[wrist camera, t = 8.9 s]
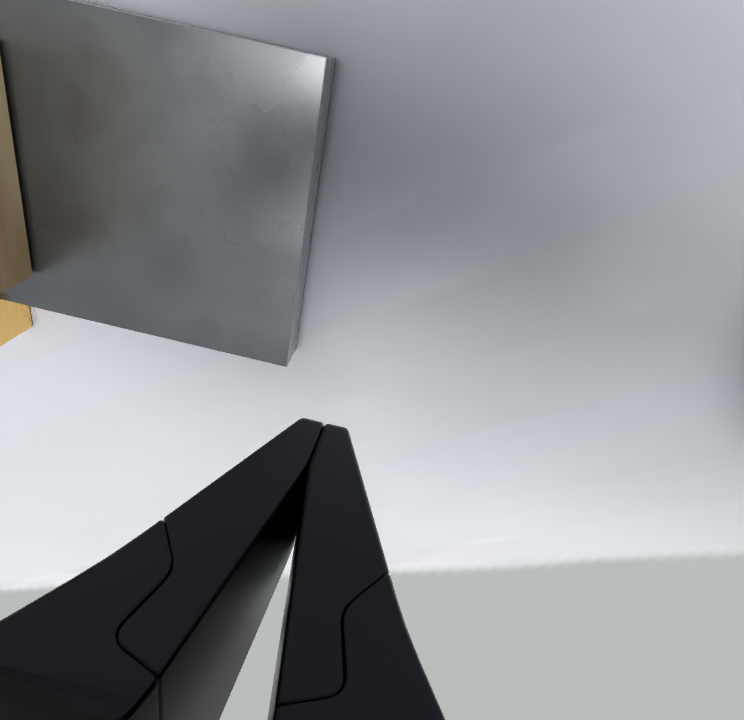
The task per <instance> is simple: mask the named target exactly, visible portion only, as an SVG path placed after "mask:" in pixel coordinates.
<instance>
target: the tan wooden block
mask: <svg viewBox="0 0 744 720" xmlns="http://www.w3.org/2000/svg"><path fill="white" fill-rule="evenodd" d="M32 276H33V275H32V268H31V262H30V255H29V248H28V241H27V234H26V228H25V221H24V214H23V207H22V200H21V193H20V187H19V180H18V173H17V166H16V159H15V152H14V146H13V139H12V132H11V125H10V118H9V112H8V105H7V98H6V91H5V84H4V77H3V71H2V64H1V57H0V293H1V292H3V291H5V290H7V289H9V288H11V287H13V286H15V285H17V284H19V283H21V282H23V281H24V280H26V279H28V278H30V277H32Z"/></svg>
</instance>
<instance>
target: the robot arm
mask: <svg viewBox="0 0 744 720" xmlns="http://www.w3.org/2000/svg"><path fill="white" fill-rule="evenodd" d="M295 539H296V540H295ZM294 542H295V546H294ZM293 546H294V551H293V557H292V564H291V570H290V577H289V584H288V590H287V596H286V603H285V609H284V616H283V622H282V629H281V636H280V643H279V648H278V655H277V662H276V668H275V674H274V681H273V687H272V694H271V700H270V707H269V714H268V720H445V718H444V716H443V713H442V711H441V709H440V706H439V704H438V702H437V700H436V698H435V695H434V693H433V691H432V688H431V686H430V683H429V681H428V679H427V676H426V674H425V672H424V670H423V667H422V665H421V663H420V660H419V658H418V655H417V653H416V650H415V648H414V645H413V643H412V640H411V638H410V635H409V633H408V630H407V628H406V625H405V622H404V619H403V616H402V613H401V610H400V607H399V603H398V601H397V597H396V594H395V590H394V587H393V583H392V580H391V577H390V575H388V574H389V570H388V567H387V563H386V560H385V557H384V553H383V550H382V546H381V543H380V539H379V536H378V532H377V529H376V525H375V522H374V518H373V515H372V511H371V508H370V504H369V501H368V497H367V494H366V490H365V487H364V483H363V480H362V476H361V473H360V470H359V466H358V463H357V459H356V456H355V452H354V449H353V445H352V442H351V438H350V435H349V432H348V430H347V429H346V428H344V427H340V426H335V425H331V424H326V425H325V426H324V425H323V423H322V422H318V421H314V420H310V419H306V418H302V419H300V420H298V421H297V422H295V423H294V424H293V425H291V426H290V427H288V428H287V429H286V430H284V431H283V432H282V433H280V434H279V435H277V436H276V437H275V438H273V439H272V440H271V441H269V442H268V443H266V444H265V445H264V446H262V447H261V448H260V449H258V450H257V451H255V452H254V453H253V454H251V455H250V456H248V457H247V458H246V459H244V460H243V461H242V462H240V463H239V464H237V465H236V466H235V467H233V468H232V469H231V470H229V471H228V472H226V473H225V474H224V475H222V476H221V477H220V478H218V479H217V480H215V481H214V482H213V483H211V484H210V485H209V486H207V487H206V488H204V489H203V490H202V491H200V492H199V493H198V494H196V495H195V496H193V497H192V498H191V499H189V500H188V501H187V502H185V503H184V504H182V505H181V506H180V507H178V508H177V509H176V510H174V511H173V512H171V513H170V514H169V515H167V516H166V517H165V518H164V521H162V520H161V521H159V522H157V523H156V524H155V525H153V526H152V527H150V528H149V529H148V530H146V531H145V532H143V533H142V534H141V535H139V536H138V537H136V538H135V539H133V540H132V541H130V542H129V543H128V544H126V545H125V546H123V547H122V548H120V549H119V550H117V551H116V552H114V553H113V554H111V555H110V556H108V557H107V558H105V559H103V560H102V561H100V562H99V563H97V564H95V565H94V566H92V567H90V568H89V569H87V570H86V571H84V572H82V573H81V574H79V575H77V576H76V577H74V578H72V579H71V580H69V581H67V582H66V583H64V584H62V585H61V586H59V587H57V588H55V589H54V590H52V591H50V592H49V593H47V594H45V595H43V596H42V597H40V598H38V599H37V600H35V601H33V602H31V603H30V604H28V605H26V606H25V607H23V608H21V609H20V610H18V611H16V612H14V613H13V614H11V615H9V616H8V617H6V618H4V619H2V620H1V621H0V720H219V719H220V716H221V714H222V712H223V710H224V707H225V705H226V702H227V700H228V698H229V696H230V693H231V691H232V689H233V686H234V684H235V681H236V679H237V677H238V675H239V672H240V670H241V668H242V665H243V663H244V660H245V658H246V656H247V654H248V651H249V649H250V647H251V644H252V642H253V640H254V637H255V635H256V633H257V630H258V628H259V626H260V623H261V621H262V619H263V616H264V614H265V612H266V609H267V607H268V605H269V602H270V600H271V598H272V595H273V593H274V591H275V588H276V586H277V584H278V581H279V579H280V577H281V574H282V572H283V570H284V568H285V565H286V563H287V561H288V558H289V556H290V553H291V551H292V548H293Z"/></svg>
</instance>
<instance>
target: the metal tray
mask: <svg viewBox="0 0 744 720" xmlns="http://www.w3.org/2000/svg"><path fill="white" fill-rule="evenodd" d="M0 57H1V64H2V71H3V77H4V84H5V91H6V98H7V105H8V112H9V118H10V125H11V132H12V139H13V146H14V152H15V159H16V166H17V173H18V180H19V187H20V193H21V200H22V207H23V214H24V221H25V228H26V234H27V241H28V248H29V255H30V262H31V268H32V275H33V276H32V277H30V278H28V279H26V280H24V281H23V282H21V283H19V284H17V285H15V286H13V287H11V288H9V289H7V290H5V291H3V292H1V293H0V346H1V345H3V344H5V343H6V342H8V341H9V340H11V339H13V338H14V337H16V336H17V335H19V334H21V333H22V332H24V331H25V330H27V329H28V328H30V327H32V321H31V314H30V308H29V306H32V307H36V308H41V309H45V310H49V311H53V312H57V313H62V314H66V315H70V316H74V317H79V318H83V319H87V320H91V321H95V322H100V323H104V324H108V325H112V326H117V327H121V328H125V329H129V330H134V331H138V332H142V333H146V334H150V335H155V336H159V337H163V338H167V339H172V340H176V341H180V342H184V343H188V344H193V345H197V346H201V347H205V348H210V349H214V350H218V351H222V352H226V353H231V354H235V355H239V356H243V357H248V358H252V359H256V360H260V361H264V362H269V363H273V364H277V365H281V366H287V365H288V363H289V361H290V359H291V357H292V355H293V354H294V352H295V350H296V345H297V337H298V330H299V323H300V315H301V308H302V301H303V293H304V286H305V279H306V271H307V264H308V257H309V249H310V242H311V235H312V227H313V220H314V213H315V205H316V198H317V191H318V184H319V176H320V169H321V162H322V154H323V147H324V140H325V132H326V125H327V118H328V110H329V103H330V96H331V88H332V81H333V74H334V66H335V59H336V58H332V57H328V56H323V55H319V54H314V53H310V52H306V51H301V50H297V49H292V48H288V47H283V46H279V45H274V44H270V43H266V42H261V41H257V40H252V39H248V38H243V37H239V36H235V35H230V34H226V33H221V32H217V31H212V30H208V29H203V28H199V27H195V26H190V25H186V24H181V23H177V22H172V21H168V20H164V19H159V18H155V17H150V16H146V15H141V14H137V13H132V12H128V11H124V10H119V9H115V8H110V7H106V6H101V5H97V4H92V3H88V2H84V1H79V0H0Z"/></svg>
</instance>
